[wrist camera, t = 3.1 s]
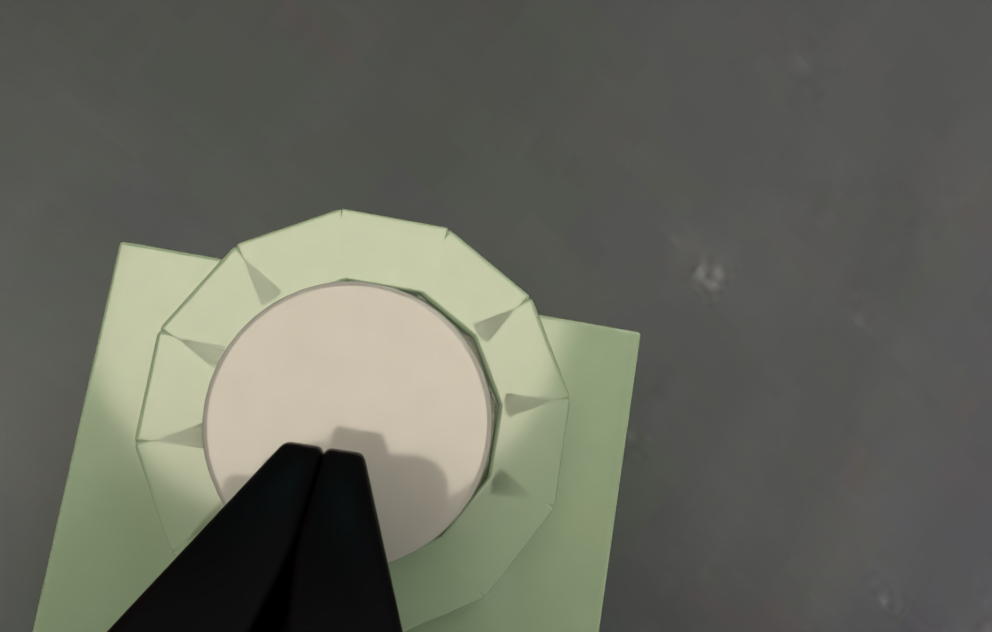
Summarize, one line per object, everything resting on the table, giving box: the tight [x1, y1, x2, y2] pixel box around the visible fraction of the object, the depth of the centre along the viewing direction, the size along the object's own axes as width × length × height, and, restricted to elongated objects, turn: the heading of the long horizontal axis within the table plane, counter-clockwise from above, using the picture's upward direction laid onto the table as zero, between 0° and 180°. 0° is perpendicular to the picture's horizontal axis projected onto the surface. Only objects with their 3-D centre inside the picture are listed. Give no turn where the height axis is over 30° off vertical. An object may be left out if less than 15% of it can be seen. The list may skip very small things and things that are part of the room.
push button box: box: [33, 209, 641, 632], centre depth 16 cm, size 13×10×7 cm
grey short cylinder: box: [202, 281, 493, 563], centre depth 13 cm, size 4×4×3 cm
